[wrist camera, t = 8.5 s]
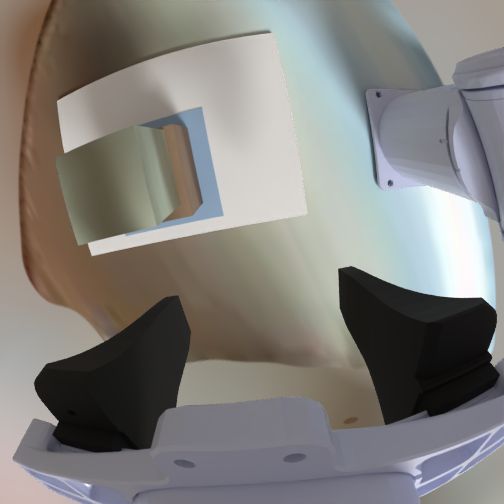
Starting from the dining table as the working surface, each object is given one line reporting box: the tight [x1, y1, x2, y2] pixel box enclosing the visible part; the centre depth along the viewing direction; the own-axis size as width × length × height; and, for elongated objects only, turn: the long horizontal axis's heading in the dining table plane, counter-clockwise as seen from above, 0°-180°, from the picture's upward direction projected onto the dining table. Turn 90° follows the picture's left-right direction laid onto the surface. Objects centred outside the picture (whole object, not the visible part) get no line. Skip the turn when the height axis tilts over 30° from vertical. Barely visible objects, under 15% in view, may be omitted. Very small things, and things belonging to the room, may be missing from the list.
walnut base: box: [157, 124, 203, 223], centre depth 17 cm, size 6×6×4 cm
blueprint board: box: [57, 33, 308, 256], centre depth 19 cm, size 18×14×1 cm
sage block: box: [55, 125, 181, 245], centre depth 13 cm, size 4×4×4 cm
